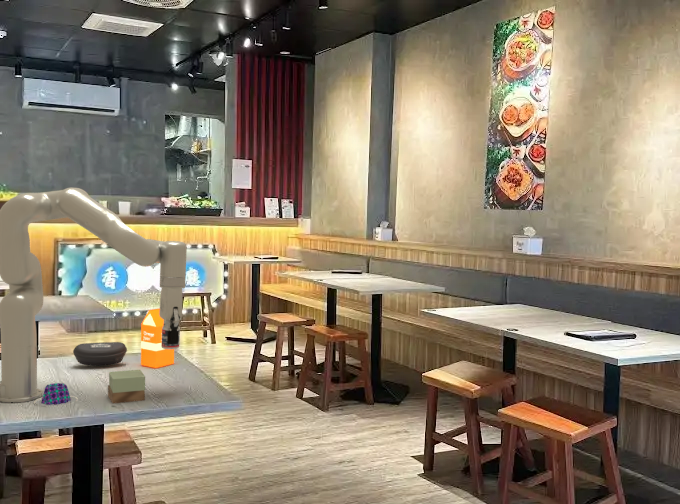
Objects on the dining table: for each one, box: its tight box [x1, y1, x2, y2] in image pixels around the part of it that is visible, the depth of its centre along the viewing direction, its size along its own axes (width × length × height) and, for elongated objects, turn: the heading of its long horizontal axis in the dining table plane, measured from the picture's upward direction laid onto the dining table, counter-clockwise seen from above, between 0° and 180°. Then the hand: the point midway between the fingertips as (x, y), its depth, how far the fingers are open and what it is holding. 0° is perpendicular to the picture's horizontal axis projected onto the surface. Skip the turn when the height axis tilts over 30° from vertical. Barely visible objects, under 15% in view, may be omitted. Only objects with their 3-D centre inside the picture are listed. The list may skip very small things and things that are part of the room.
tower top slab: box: [108, 369, 146, 393], centre depth 210 cm, size 9×9×4 cm
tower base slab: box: [107, 384, 146, 404], centre depth 211 cm, size 9×9×4 cm
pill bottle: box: [161, 319, 181, 350], centre depth 216 cm, size 5×5×9 cm
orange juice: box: [140, 307, 175, 369], centre depth 254 cm, size 8×9×20 cm
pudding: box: [33, 382, 79, 408], centre depth 206 cm, size 12×12×5 cm
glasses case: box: [72, 341, 128, 367], centre depth 253 cm, size 18×10×8 cm, turn 111°
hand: (170, 341), depth 216 cm, fingers closed on pill bottle, 5 cm apart
